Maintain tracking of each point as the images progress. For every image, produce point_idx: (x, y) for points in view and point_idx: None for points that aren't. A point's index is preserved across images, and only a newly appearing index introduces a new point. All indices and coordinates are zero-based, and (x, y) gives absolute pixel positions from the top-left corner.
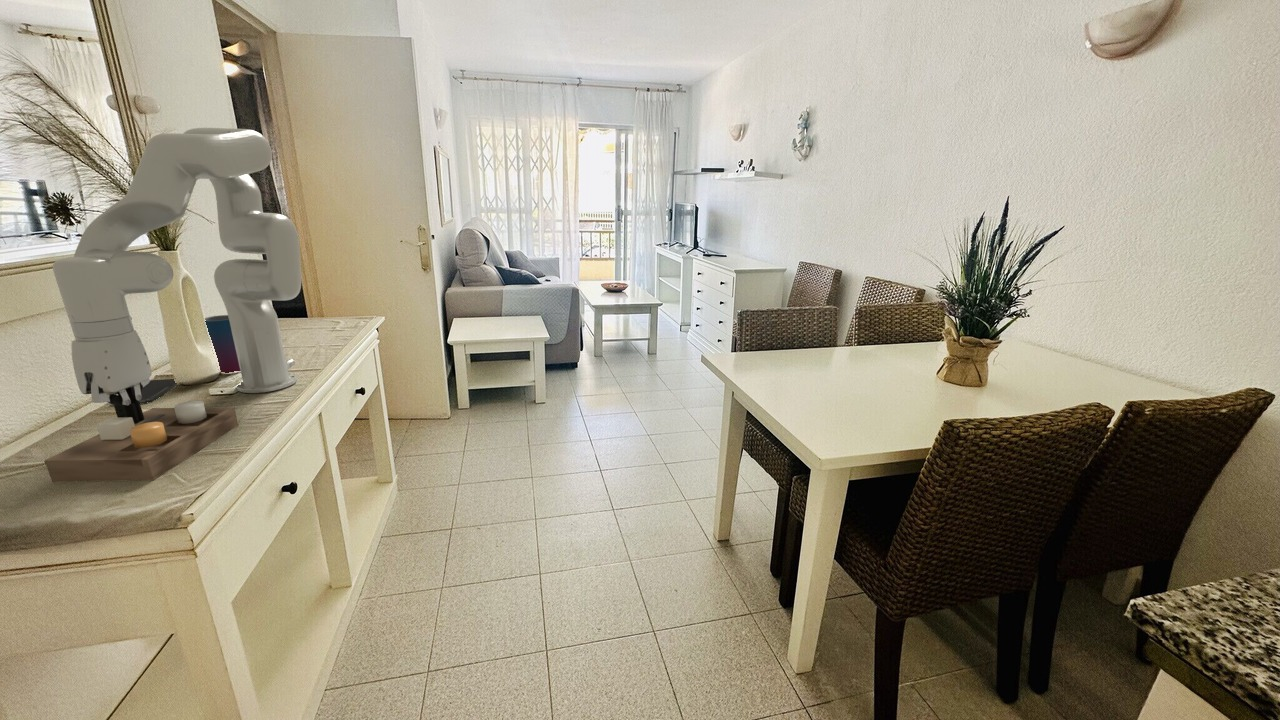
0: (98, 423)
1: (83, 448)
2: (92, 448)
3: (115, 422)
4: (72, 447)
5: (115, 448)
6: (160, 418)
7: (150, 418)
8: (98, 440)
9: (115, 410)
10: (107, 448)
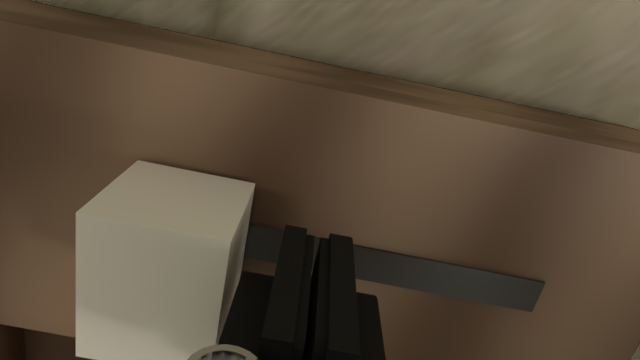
0: (95, 219)
1: (24, 118)
2: (26, 172)
3: (113, 324)
4: (37, 35)
5: (27, 291)
6: (467, 311)
7: (486, 258)
8: (147, 135)
9: (271, 289)
10: (25, 253)
